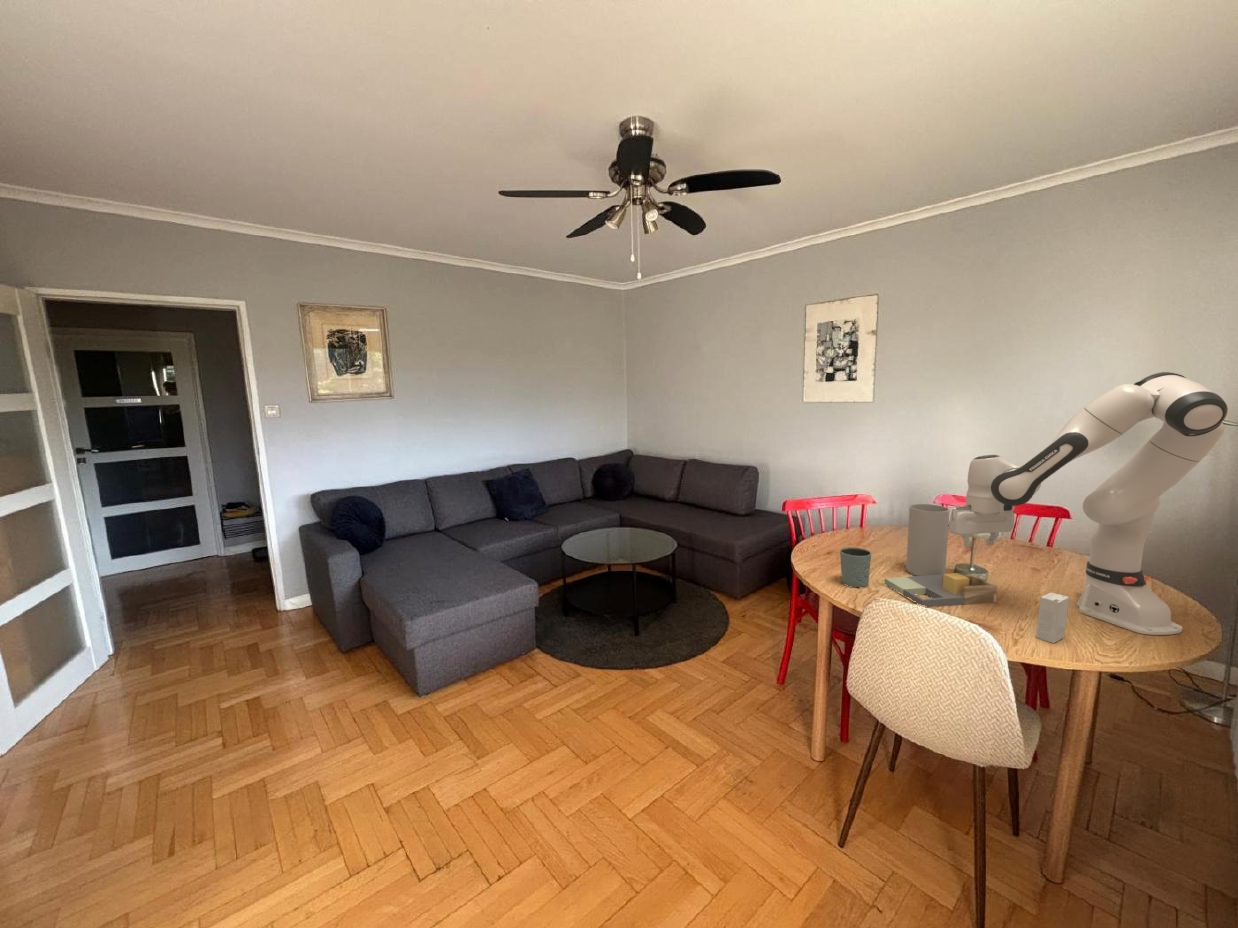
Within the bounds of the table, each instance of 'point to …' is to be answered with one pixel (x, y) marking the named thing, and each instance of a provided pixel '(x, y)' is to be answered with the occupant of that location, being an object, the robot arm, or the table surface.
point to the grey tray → (927, 590)
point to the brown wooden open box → (978, 590)
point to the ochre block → (954, 582)
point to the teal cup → (855, 566)
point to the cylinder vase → (927, 539)
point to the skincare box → (1052, 617)
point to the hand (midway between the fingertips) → (979, 545)
